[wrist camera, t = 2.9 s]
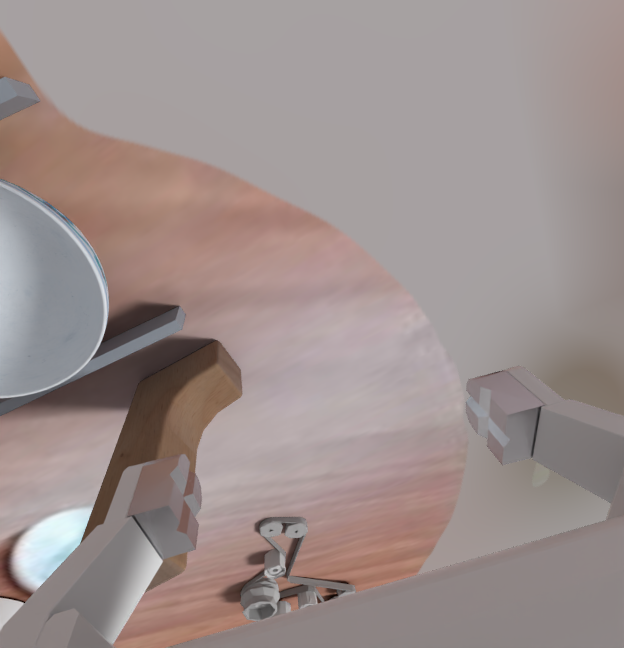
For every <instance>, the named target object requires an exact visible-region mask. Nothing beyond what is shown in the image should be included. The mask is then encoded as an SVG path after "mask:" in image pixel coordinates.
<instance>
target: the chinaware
mask: <svg viewBox="0 0 624 648" xmlns="http://www.w3.org/2000/svg"><path fill="white" fill-rule="evenodd" d="M108 311H109V295H108V287H107V282H106V278H105V274H104V271H103V268H102V265H101V263H100V261H99V259H98V257H97V255H96V253H95V251H94V249H93V248H92V246H91V245H90V243H89V242H88V240H87V239H86V238H85V236H84V235H83V234H82V233H81V231H80V230H79V229H78V228H77V227H76V226H75V225H74V224H73V223H72V222H71V221H70V220H69V219H68V218H67V217H66V216H65V215H63V214H62V213H61V212H60V211H58V210H57V209H56V208H55V207H53V206H52V205H50V204H49V203H47V202H46V201H44V200H43V199H41V198H40V197H38V196H36V195H34V194H33V193H31V192H29V191H27V190H25V189H23V188H21V187H19V186H17V185H15V184H12V183H10V182H7V181H5V180H2V179H0V398H11V397H19V396H25V395H30V394H34V393H38V392H41V391H44V390H47V389H50V388H52V387H54V386H57V385H59V384H61V383H63V382H64V381H66V380H68V379H69V378H71V377H72V376H74V375H75V374H76V373H78V372H79V371H80V370H81V369H82V368H83V367H84V366H85V365H86V364H87V363H88V362H89V361H90V360H91V358H92V357H93V356H94V354H95V353H96V351H97V349H98V348H99V346H100V343H101V341H102V339H103V336H104V333H105V329H106V325H107V320H108Z"/></svg>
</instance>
